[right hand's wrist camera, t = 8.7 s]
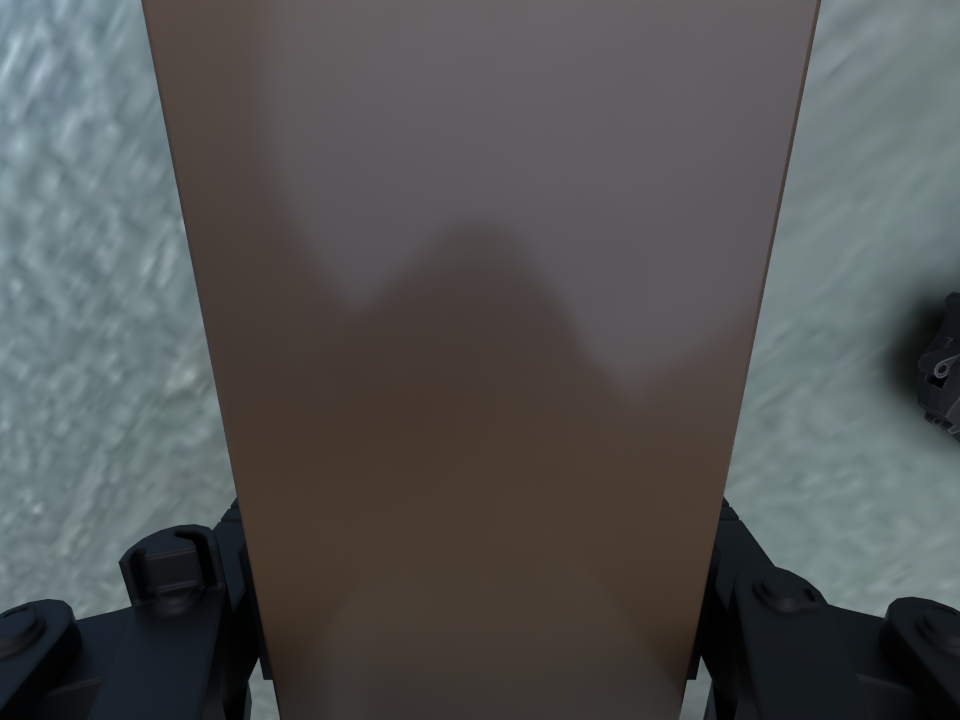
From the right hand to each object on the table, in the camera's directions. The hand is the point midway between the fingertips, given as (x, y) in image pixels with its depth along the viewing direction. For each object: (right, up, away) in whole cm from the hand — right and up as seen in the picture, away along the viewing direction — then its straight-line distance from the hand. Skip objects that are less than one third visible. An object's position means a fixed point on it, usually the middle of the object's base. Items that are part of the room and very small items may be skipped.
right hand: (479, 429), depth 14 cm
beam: (0, +20, -7) cm, 22 cm away
